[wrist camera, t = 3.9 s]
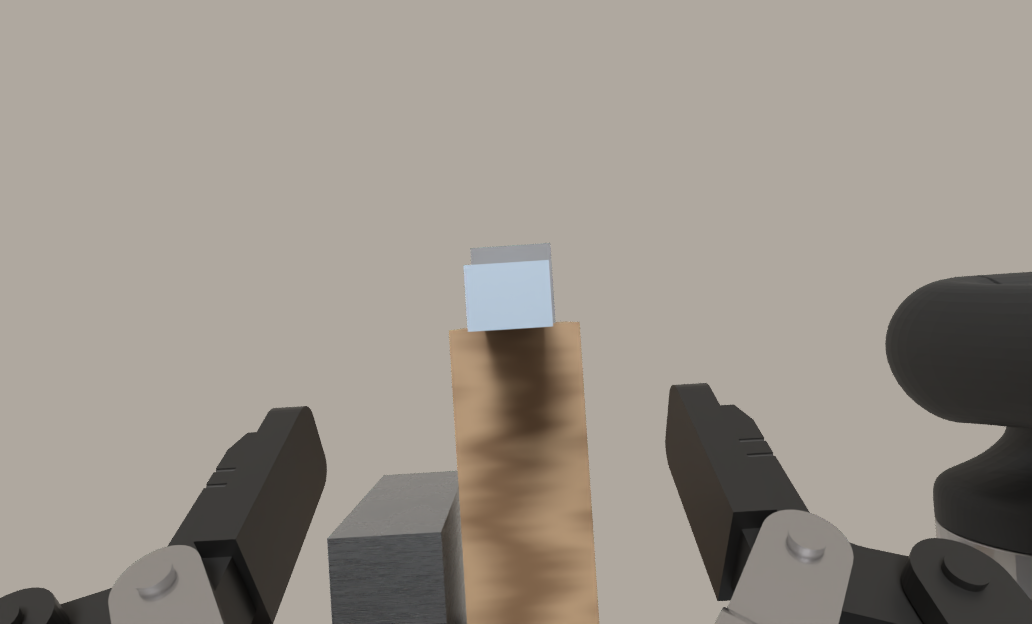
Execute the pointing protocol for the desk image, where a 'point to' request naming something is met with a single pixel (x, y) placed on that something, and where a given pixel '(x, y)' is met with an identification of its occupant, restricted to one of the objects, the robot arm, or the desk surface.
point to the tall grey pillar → (400, 554)
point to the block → (509, 288)
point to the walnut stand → (524, 476)
